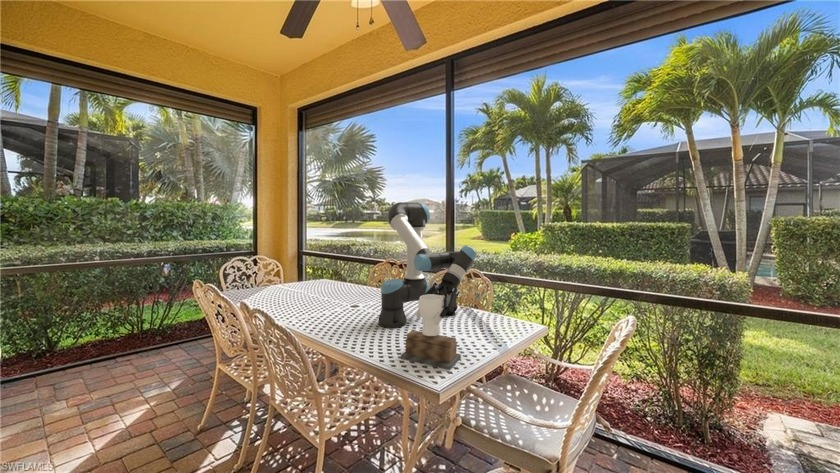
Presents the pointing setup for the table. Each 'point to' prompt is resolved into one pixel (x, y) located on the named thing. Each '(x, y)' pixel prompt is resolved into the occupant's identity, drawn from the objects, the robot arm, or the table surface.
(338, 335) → the table surface
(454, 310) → the pine cone
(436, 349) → the brown wooden block
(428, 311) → the cup
